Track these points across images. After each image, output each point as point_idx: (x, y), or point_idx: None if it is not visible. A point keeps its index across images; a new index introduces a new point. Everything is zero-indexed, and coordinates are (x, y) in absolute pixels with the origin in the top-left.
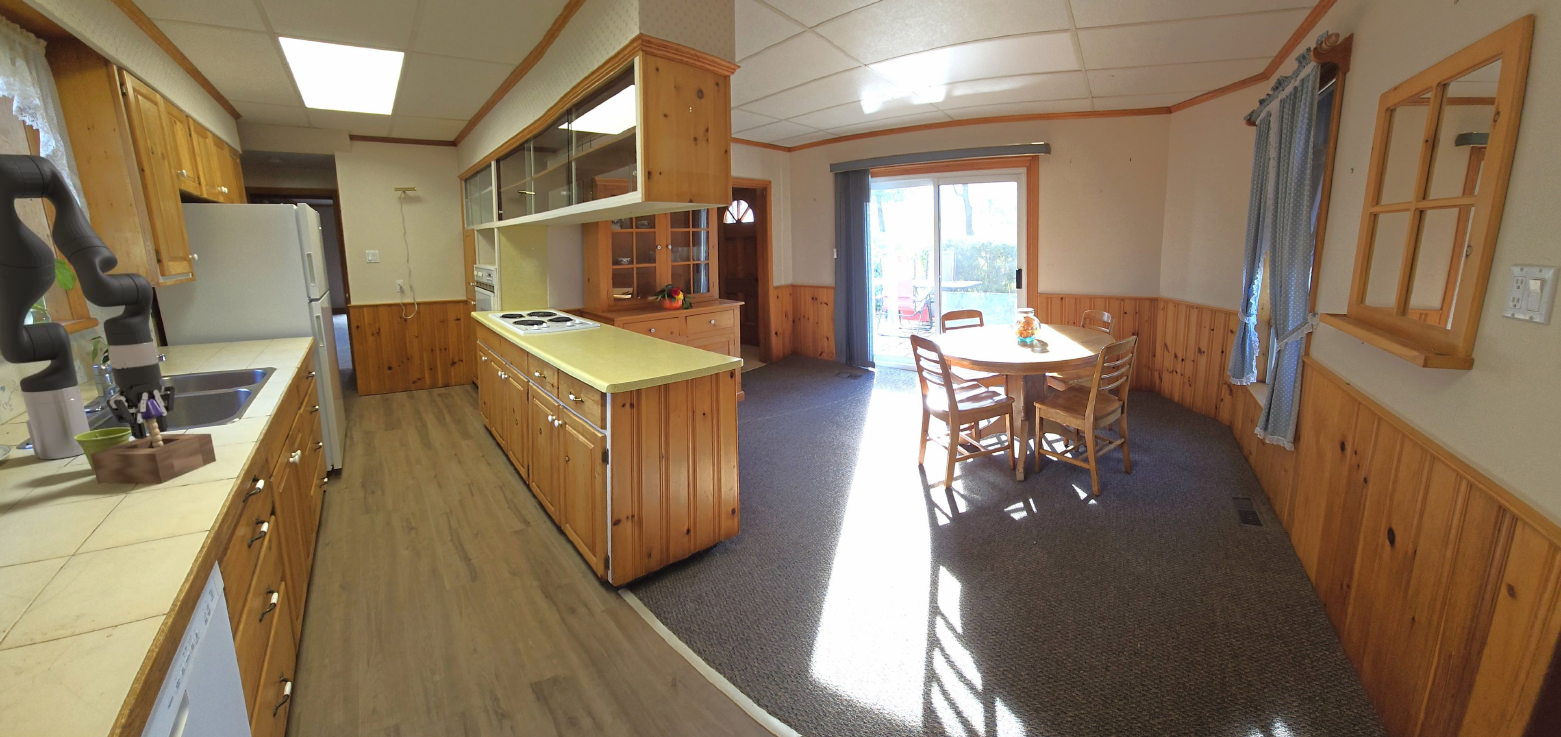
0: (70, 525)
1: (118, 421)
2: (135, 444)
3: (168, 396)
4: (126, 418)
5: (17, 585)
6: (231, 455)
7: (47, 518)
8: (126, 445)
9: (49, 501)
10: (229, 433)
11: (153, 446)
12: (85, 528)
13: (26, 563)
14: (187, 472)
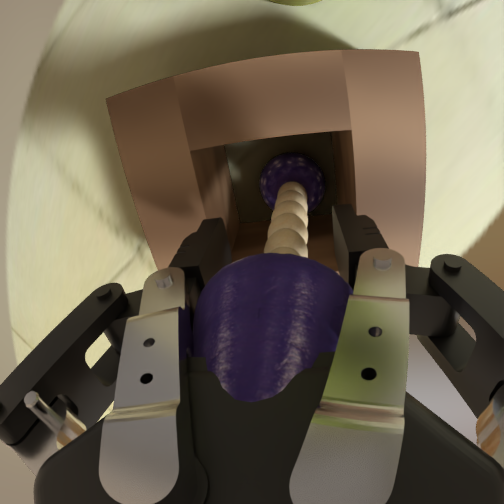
0: (46, 294)
1: (93, 297)
2: (254, 139)
3: (475, 407)
4: (108, 361)
5: (17, 358)
6: (426, 251)
7: (33, 231)
8: (231, 114)
9: (59, 124)
10: None
11: (272, 214)
12: (56, 321)
13: (18, 335)
14: None
